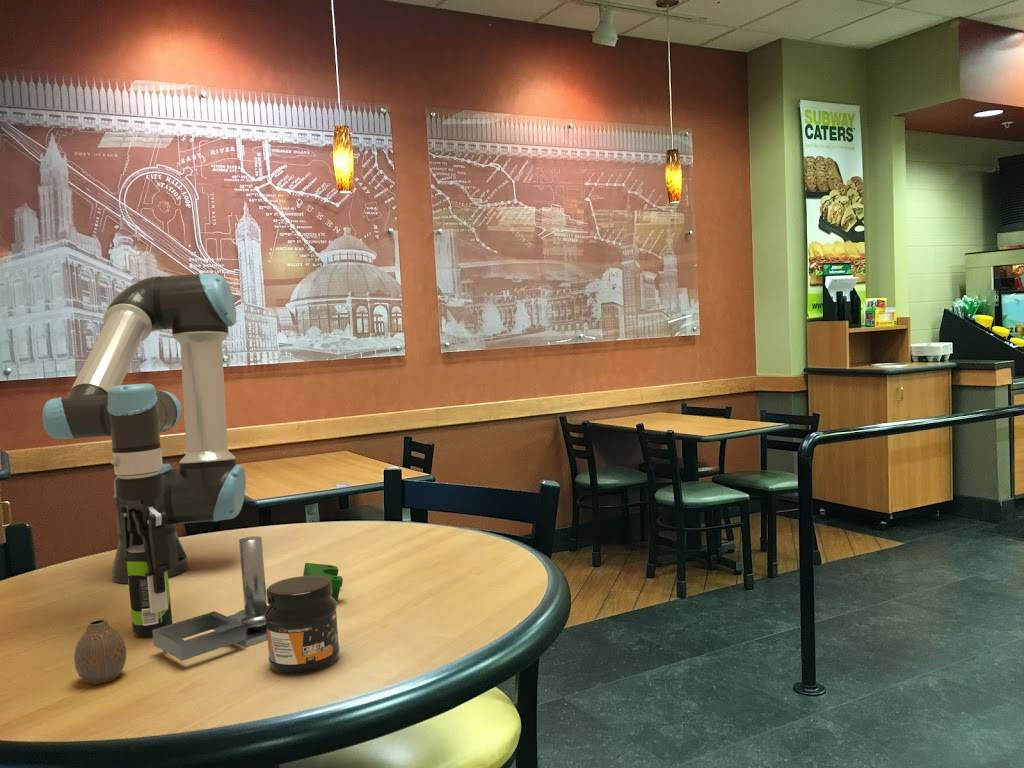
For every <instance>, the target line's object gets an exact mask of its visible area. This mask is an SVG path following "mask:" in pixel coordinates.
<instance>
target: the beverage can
mask: <svg viewBox="0 0 1024 768" xmlns="http://www.w3.org/2000/svg"><path fill="white" fill-rule="evenodd" d="M127 551H128V554H127V556H126V559H127V570H128V581H129V583H128V591H129V601H130V612H131V621H132V622H131V623H132V632H133V633H134V634H136V635H135V636H137V637H139V638H153V632H152V630H154V629H157V628H161V627H164V626H167V625H171V624H173V616H172V615H173V614H172V607H171V606H172V605H171V594H170V593H171V592H170V583H169V578H168V571H166V572H165V579H166V590H167V602H168V609H167V610H163V611H160V612H156V613H153V614H152V613H150V603H149V592H148V581H147V577H146V576H145V574H146V573H148V572H149V569H148V564H147V559H146V555H145V550H144V545H143V544H142V545H135V546H132V547H129V548H128V549H127Z"/></svg>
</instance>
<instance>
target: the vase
mask: <svg viewBox="0 0 1024 768" xmlns="http://www.w3.org/2000/svg"><path fill="white" fill-rule="evenodd" d="M73 655H74V656H73V657H74V658H73V661H74V667H75V671H76V673H77V675H78V676H79V678H80V679H81V680H83V681H84V682H85V683H87V684H89V683H90V684H89V685H98V684H97V683H103V684H105V683H104V682H106V683H108V681H109V682H112V681H114V680H115V679H116V678H118V676H119V675H120V674H121V673H122V671H123V670H124V667H125V665H126V660H127V647H126V644H125V641H124V639H123V637H122V636H121V634H120V633H119V632H118V631H117V630H116V629H115V628H114V627H112V626H111V625H110V624H109V623H108V621H107V620H106V619H105V618H100V619H93V620H91V621H90V622H88V624H87V626H86V629H85V631H84V633H83V634H82V635H81V637H80V639H78V642H77V643H76V646H75V650H74V654H73ZM113 679H114V680H113ZM111 680H112V681H111Z"/></svg>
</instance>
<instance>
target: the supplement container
mask: <svg viewBox="0 0 1024 768" xmlns="http://www.w3.org/2000/svg"><path fill="white" fill-rule="evenodd" d="M331 595H332V582H331V580H330V579H328V578H326V577H322V576H303V575H301V576H294V577H289V578H285V579H282V580H281V579H280V580H279V581H276V582H274V583H272V584H271V585H269V586H268V587H267V589H266V599H267V606H268V607H267V608H266V610H265V619H266V626H267V638H268V640H267V647H268V650H267V651H268V663H269V665H270V666H269V667H271V669H273V670H274V671H276V672H278V673H281V674H284V675H303V674H304V675H305V674H309V673H314V672H317V671H321V670H323V669H325V668H327V667H329V666H330V665H332V664H333V663H335V661H336V660H337V658H338V657H339V655H340V644H339V631H338V630H339V628H338V617H337V605H338V604H337V601H335V599H334V598H333V597H332V596H331Z"/></svg>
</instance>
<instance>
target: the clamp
mask: <svg viewBox="0 0 1024 768" xmlns="http://www.w3.org/2000/svg"><path fill="white" fill-rule="evenodd" d="M338 574H339V568H338V567H337V566H336V565H332V564H325V563H323V564H322V563H313V562H311V563H310V562H305V563H304V568H303V574H302V576H322V577H326V578H328V579H330V580H331V582H332V595H331V596H332V597H333V598H334V599H335V601H336V602H337V601H339V596H340V595H339V594H340V590H341V588H342V586H343V581H344V579H343V576H342V575H338Z"/></svg>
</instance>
